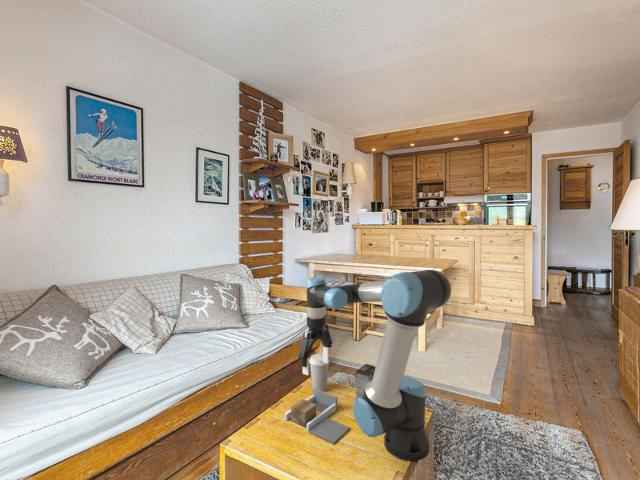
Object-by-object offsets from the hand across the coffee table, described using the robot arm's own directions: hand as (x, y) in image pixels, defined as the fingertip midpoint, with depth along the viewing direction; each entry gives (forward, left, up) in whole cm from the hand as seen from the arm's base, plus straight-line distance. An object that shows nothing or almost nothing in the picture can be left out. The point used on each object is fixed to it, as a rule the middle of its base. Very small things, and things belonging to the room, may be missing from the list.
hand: (316, 368), depth 139 cm
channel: (0, +4, -18) cm, 18 cm away
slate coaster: (-12, +8, -18) cm, 23 cm away
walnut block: (0, +8, -18) cm, 20 cm away
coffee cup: (+10, -15, -18) cm, 25 cm away
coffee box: (-15, -15, -18) cm, 28 cm away
